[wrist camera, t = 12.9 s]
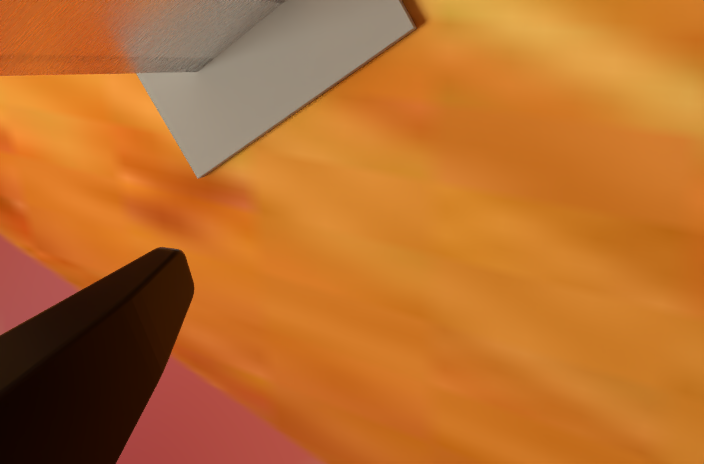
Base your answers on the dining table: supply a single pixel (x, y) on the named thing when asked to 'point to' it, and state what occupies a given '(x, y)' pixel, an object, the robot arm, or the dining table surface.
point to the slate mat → (272, 73)
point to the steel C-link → (121, 34)
